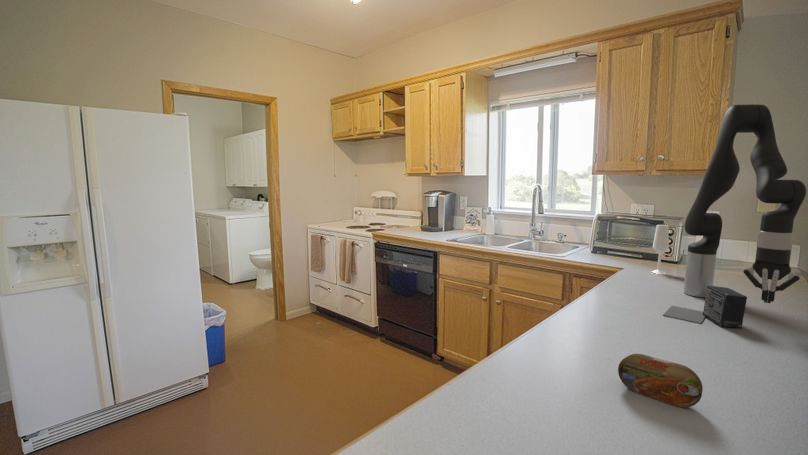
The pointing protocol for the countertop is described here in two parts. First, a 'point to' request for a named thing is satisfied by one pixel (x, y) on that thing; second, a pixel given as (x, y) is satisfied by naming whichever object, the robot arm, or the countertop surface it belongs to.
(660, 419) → the countertop surface
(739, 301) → the small box
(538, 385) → the countertop surface
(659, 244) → the champagne flute
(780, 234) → the robot arm
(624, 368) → the tin
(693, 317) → the mat
